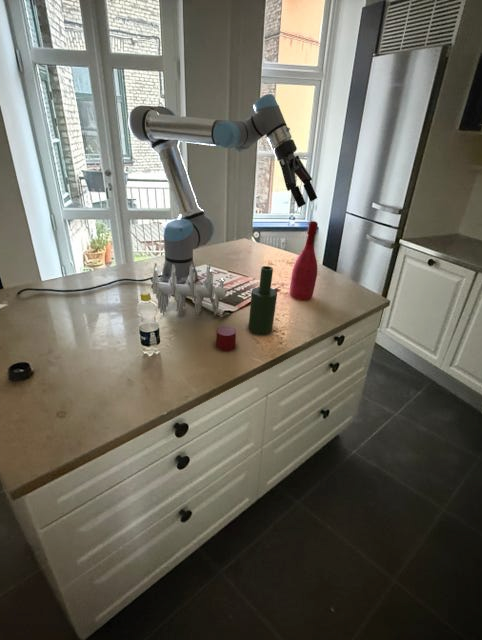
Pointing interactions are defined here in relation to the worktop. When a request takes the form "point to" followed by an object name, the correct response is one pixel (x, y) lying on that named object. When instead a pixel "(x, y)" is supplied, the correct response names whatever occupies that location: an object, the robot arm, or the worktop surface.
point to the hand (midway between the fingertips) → (308, 202)
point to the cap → (225, 338)
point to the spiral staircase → (187, 291)
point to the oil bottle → (263, 304)
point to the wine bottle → (305, 268)
